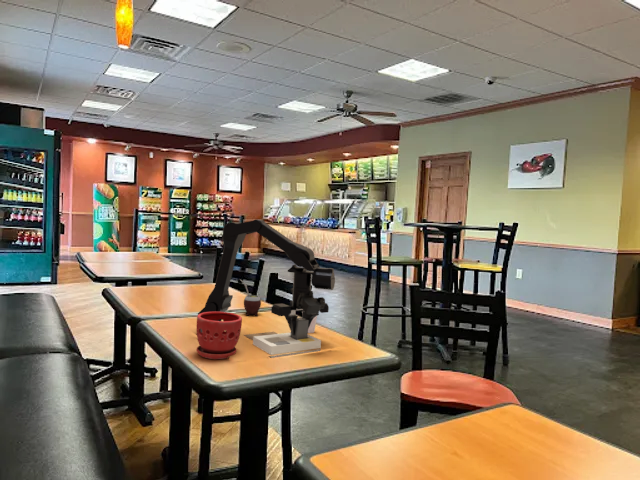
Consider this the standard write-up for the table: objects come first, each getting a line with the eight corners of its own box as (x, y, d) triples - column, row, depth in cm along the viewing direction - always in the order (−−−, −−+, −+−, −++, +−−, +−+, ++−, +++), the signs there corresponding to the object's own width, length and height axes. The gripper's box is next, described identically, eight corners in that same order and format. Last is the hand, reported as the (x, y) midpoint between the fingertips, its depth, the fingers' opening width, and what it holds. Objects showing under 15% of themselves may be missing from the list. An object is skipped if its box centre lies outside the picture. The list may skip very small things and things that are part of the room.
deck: (254, 344, 154) (254, 341, 154) (242, 337, 161) (242, 334, 161) (286, 340, 161) (286, 337, 161) (273, 334, 168) (273, 331, 168)
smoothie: (315, 337, 168) (317, 298, 167) (298, 335, 169) (300, 296, 168) (319, 333, 174) (321, 295, 173) (302, 331, 175) (304, 293, 174)
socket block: (270, 358, 141) (271, 345, 141) (252, 347, 151) (253, 335, 151) (320, 351, 151) (321, 339, 151) (300, 341, 161) (301, 330, 161)
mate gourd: (263, 315, 198) (265, 279, 197) (251, 318, 191) (253, 281, 191) (249, 312, 202) (251, 277, 201) (237, 315, 195) (239, 279, 195)
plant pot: (201, 364, 132) (203, 321, 132) (190, 350, 144) (192, 311, 143) (246, 359, 138) (248, 319, 138) (232, 347, 150) (234, 309, 149)
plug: (296, 342, 151) (298, 320, 150) (290, 339, 154) (291, 317, 154) (307, 341, 153) (308, 319, 153) (300, 338, 156) (302, 316, 156)
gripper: (290, 292, 141) (287, 344, 142) (340, 289, 151) (337, 337, 152) (271, 286, 150) (269, 335, 151) (320, 284, 160) (317, 329, 161)
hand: (299, 334), depth 153 cm, fingers closed on plug, 4 cm apart
